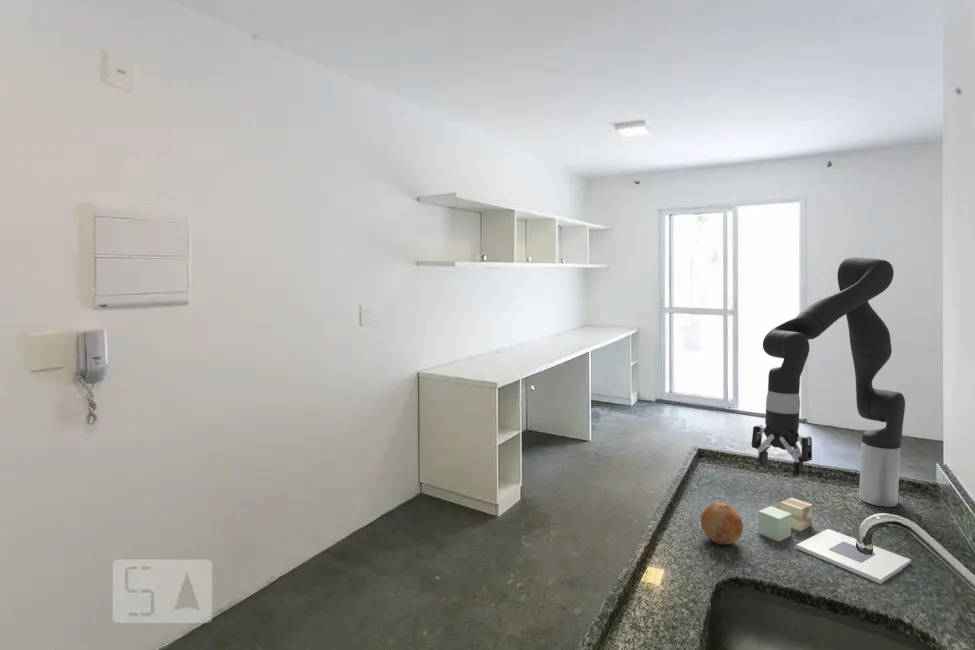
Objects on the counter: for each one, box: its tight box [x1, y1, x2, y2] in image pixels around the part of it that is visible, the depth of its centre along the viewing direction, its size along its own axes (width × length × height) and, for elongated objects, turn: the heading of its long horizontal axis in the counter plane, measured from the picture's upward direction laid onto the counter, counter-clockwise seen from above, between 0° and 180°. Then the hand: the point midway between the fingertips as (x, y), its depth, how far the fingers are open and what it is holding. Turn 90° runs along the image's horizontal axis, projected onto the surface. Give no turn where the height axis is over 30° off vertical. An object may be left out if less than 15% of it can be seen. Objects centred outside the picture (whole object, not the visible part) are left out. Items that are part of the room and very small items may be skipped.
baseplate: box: [795, 528, 912, 585], centre depth 127 cm, size 15×18×1 cm
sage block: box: [757, 505, 792, 543], centre depth 137 cm, size 6×6×6 cm
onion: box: [700, 502, 744, 546], centre depth 134 cm, size 10×10×10 cm
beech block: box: [779, 497, 813, 532], centre depth 143 cm, size 6×6×6 cm
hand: (779, 470), depth 136 cm, fingers open, 8 cm apart
